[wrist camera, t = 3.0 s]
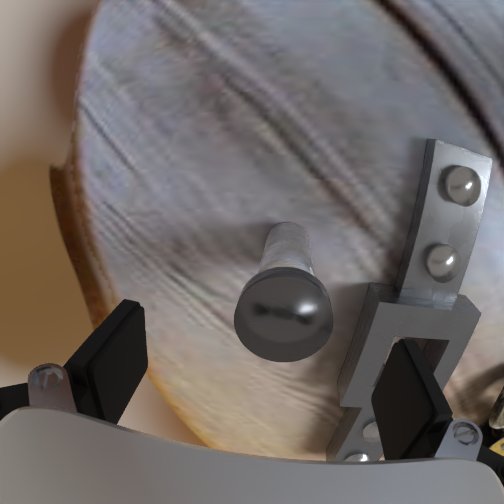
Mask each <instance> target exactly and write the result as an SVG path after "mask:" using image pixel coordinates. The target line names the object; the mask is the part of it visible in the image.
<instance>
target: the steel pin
mask: <svg viewBox="0 0 504 504" xmlns="http://www.w3.org/2000/svg"><path fill="white" fill-rule="evenodd" d="M234 326H235V330H236V333H237V335H238V337H239V339H240V341H241V342H242V343H243V345H244V346H245V347H246V348H247V349H248V350H250V351H251V352H252V353H254V354H255V355H257V356H259V357H261V358H264V359H267V360H270V361H275V362H293V361H298V360H302V359H304V358H307V357H309V356H311V355H313V354H314V353H316V352H317V351H318V350H320V349H321V348H322V347H323V346H324V344H325V343H326V342H327V340H328V338H329V337H330V334H331V332H332V328H333V313H332V308H331V303H330V299H329V295H328V293H327V290H326V289H325V287H324V285H323V284H322V283H321V282H320V281H319V280H318V279H317V278H316V277H315V274H314V267H313V260H312V254H311V247H310V241H309V236H308V234H307V232H306V231H305V230H304V228H302V227H301V226H300V225H298V224H296V223H292V222H284V223H280V224H278V225H276V226H274V227H273V228H272V229H271V230H270V232H269V234H268V236H267V239H266V243H265V247H264V251H263V255H262V259H261V263H260V267H259V271H258V274H257V275H255V276H254V277H253V278H251V279H250V280H249V281H248V282H247V284H246V285H245V286H244V288H243V290H242V292H241V295H240V298H239V301H238V304H237V307H236V310H235V314H234Z"/></svg>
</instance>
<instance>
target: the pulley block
mask: <svg viewBox="0 0 504 504" xmlns="http://www.w3.org/2000/svg"><path fill="white" fill-rule="evenodd" d="M480 430H481V432H482V436H483V438H482V443H481V444H482V445H484V446H485V447H487V448H489V449H491V450H493V451H494V452H496V453H498V454H500V455H502V456H504V387H503V389H502V391H501V393H500V394H499V396H498V398H497V400H496V402H495V404H494V406H493V409H492V412H491V415H490V418H489V419H488V420H487V421H486V422H485V423H484V424H483V425H482V427H481V428H480Z"/></svg>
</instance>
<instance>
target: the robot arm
mask: <svg viewBox="0 0 504 504" xmlns="http://www.w3.org/2000/svg"><path fill="white" fill-rule="evenodd" d="M147 367H148V357H147V345H146V331H145V315H144V308H143V307H141V306H140V303H139V302H136V301H132V300H127V299H124V300H123V301H122V302H121V303H120V304H119V305H118V306H117V307H116V308H115V309H114V310H113V312H112V313H111V314H110V315H109V316H108V317H107V318H106V319H105V320H104V321H103V323H102V324H101V325H100V326H99V327H98V328H97V329H95V330H94V332H93V333H92V334H91V335H90V336H89V337H88V338H87V340H86V341H85V342H84V343H83V344H82V345H81V346H80V347H79V349H78V350H77V351H76V352H75V353H74V354H73V356H72V357H71V358H70V359H69V360H68V361H67V362H66V364H65V365H64V366H63V367H62V366H60V365H58V364H54V363H45V364H41V365H39V366H37V367H35V368H34V369H33V370H32V371H31V372H30V373H29V375H28V383H23V384H17V385H12V386H7V387H2V388H0V504H504V456H502V455H500V454H498V453H496V452H494V451H493V450H491V449H489V448H487V447H485V446H484V445H482V444H481V443H482V438H483V436H482V432H481V430H480V428H479V427H478V426H477V425H476V424H475V423H473V422H472V421H470V420H467V419H456V420H454V421H453V418H452V414H453V413H452V411H451V409H450V407H449V405H448V402H447V400H446V398H445V396H444V394H443V392H442V390H441V388H440V386H439V384H438V382H437V380H436V378H435V376H434V374H433V373H432V371H431V369H430V367H429V365H428V363H427V361H426V359H425V357H424V356H423V354H422V352H421V350H420V348H419V346H418V345H417V343H416V341H415V340H409V339H400V340H399V341H398V343H397V342H396V343H395V344H394V345H393V347H392V350H391V352H390V355H389V357H388V359H387V362H386V364H385V367H384V369H383V371H382V373H381V376H380V378H379V380H378V382H377V384H376V387H375V389H374V391H373V393H372V396H371V403H372V407H373V411H374V415H375V419H376V423H377V427H378V431H379V436H380V440H381V444H382V449H383V453H384V457H385V460H383V461H316V460H298V459H285V458H275V457H265V456H257V455H249V454H242V453H235V452H229V451H223V450H218V449H212V448H207V447H201V446H196V445H192V444H187V443H183V442H178V441H174V440H170V439H166V438H162V437H158V436H154V435H151V434H147V433H143V432H140V431H136V430H132V429H129V428H126V427H123V426H119V425H117V423H118V421H119V419H120V417H121V416H122V414H123V412H124V410H125V408H126V407H127V405H128V403H129V401H130V399H131V397H132V395H133V394H134V392H135V390H136V388H137V387H138V385H139V383H140V381H141V379H142V378H143V376H144V374H145V372H146V370H147Z"/></svg>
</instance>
